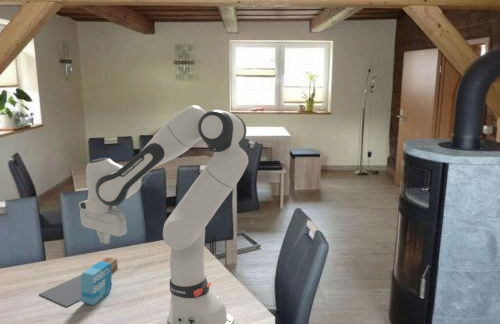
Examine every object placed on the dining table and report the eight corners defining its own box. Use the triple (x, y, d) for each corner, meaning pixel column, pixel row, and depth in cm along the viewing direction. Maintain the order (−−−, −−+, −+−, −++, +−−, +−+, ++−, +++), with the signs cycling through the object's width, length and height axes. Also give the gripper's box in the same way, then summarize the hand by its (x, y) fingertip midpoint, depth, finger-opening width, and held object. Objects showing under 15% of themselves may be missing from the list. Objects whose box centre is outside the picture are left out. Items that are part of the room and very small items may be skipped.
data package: (91, 307, 149) (91, 276, 146) (80, 304, 150) (80, 273, 147) (111, 290, 160) (111, 261, 157) (101, 288, 161) (101, 259, 158)
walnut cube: (117, 269, 178) (116, 258, 177) (111, 274, 173) (110, 263, 173) (107, 268, 179) (106, 257, 178) (100, 273, 175) (99, 262, 174)
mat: (112, 284, 165) (112, 283, 165) (66, 307, 149) (66, 306, 148) (85, 274, 174) (85, 273, 174) (39, 294, 158) (39, 293, 158)
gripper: (130, 207, 141) (132, 245, 144) (91, 198, 152) (93, 234, 154) (114, 212, 136) (117, 252, 138) (75, 202, 146) (78, 239, 149)
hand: (104, 242), depth 146 cm, fingers closed
